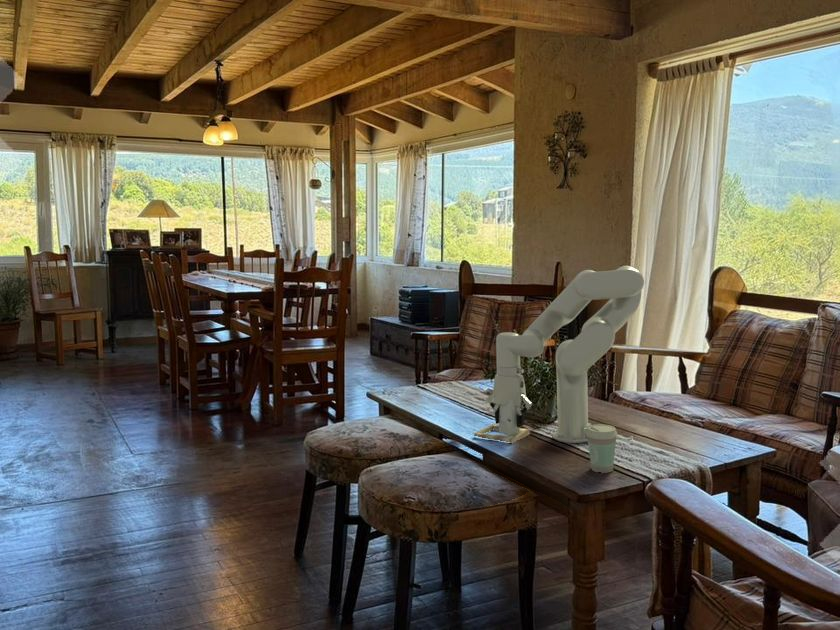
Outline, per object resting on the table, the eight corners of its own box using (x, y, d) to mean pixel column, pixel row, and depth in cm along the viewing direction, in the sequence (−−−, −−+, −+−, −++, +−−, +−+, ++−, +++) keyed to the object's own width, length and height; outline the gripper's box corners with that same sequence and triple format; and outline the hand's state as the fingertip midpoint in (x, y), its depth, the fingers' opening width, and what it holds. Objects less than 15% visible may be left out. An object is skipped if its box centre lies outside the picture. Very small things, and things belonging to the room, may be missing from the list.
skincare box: (498, 431, 237) (498, 396, 234) (508, 429, 239) (508, 394, 237) (510, 437, 232) (510, 401, 229) (520, 434, 234) (521, 398, 232)
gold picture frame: (529, 434, 238) (529, 429, 238) (512, 444, 228) (511, 439, 228) (492, 428, 246) (492, 424, 246) (474, 438, 237) (474, 433, 236)
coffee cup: (587, 463, 208) (586, 423, 206) (618, 465, 205) (617, 424, 204) (585, 474, 200) (584, 432, 198) (617, 475, 197) (617, 433, 196)
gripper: (538, 371, 230) (538, 425, 233) (491, 366, 240) (492, 418, 243) (527, 376, 224) (528, 431, 227) (479, 370, 234) (480, 423, 237)
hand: (509, 424), depth 235 cm, fingers closed on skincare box, 7 cm apart
